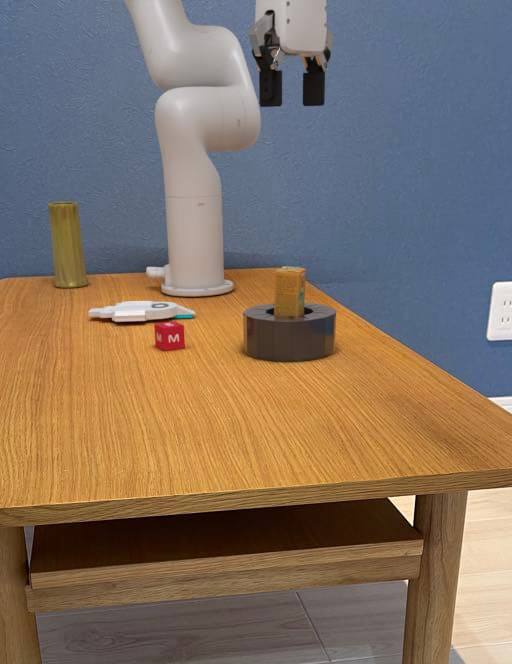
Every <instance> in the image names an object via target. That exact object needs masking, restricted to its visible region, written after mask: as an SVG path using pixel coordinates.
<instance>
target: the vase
mask: <svg viewBox="0 0 512 664" xmlns="http://www.w3.org/2000/svg"><path fill="white" fill-rule="evenodd" d="M47 205H48V206H47V207H48V214H49V215H48V217H49V227H50V236H51V246H52V257H53V258H52V260H53V271H54V273H53V274H54V286H55V287H56V288H59V289H76V288H82V287H83V288H84V287H85V286H88V284H89V282H88V278H87V277H88V276H87V270H86V264H85V263H86V262H85V256H84V255H85V253H84V246H83V237H82V231H81V230H82V229H81V222H80V221H81V220H80V213H79V212H80V211H79V202H78V201H55V202H49V203H47Z"/></svg>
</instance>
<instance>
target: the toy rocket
mask: <svg viewBox="0 0 512 664" xmlns="http://www.w3.org/2000/svg"><path fill="white" fill-rule="evenodd" d="M195 314H196V311H194V310H192V309H189V308H187V307H184V306H182V305H179V304H178V303H176V302H172V301H153V300H135V301H133V300H131V301H121V302H117V303H116V304H115V305H106V306H104V307H98V308H97V307H93V308H90V310H88V317H99V318H100V319H108V318H111V320H112V321H114V323H117V322H118V323H121V322H146V321H153V320H164V319H169V318H171V319H193V318H194V315H195Z"/></svg>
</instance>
